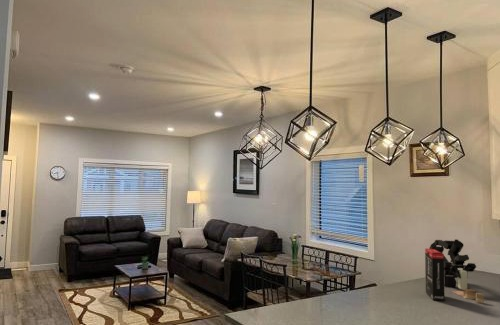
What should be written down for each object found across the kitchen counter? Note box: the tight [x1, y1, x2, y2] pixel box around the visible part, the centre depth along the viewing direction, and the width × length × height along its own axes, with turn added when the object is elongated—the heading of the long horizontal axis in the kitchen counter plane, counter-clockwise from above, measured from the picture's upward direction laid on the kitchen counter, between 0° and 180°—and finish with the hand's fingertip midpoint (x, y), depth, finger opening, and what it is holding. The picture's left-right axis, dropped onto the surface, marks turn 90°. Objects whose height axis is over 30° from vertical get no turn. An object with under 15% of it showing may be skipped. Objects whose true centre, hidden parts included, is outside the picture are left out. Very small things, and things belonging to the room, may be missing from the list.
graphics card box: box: [424, 248, 446, 302], centre depth 218 cm, size 17×7×27 cm, turn 168°
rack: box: [461, 288, 485, 304], centre depth 215 cm, size 13×8×5 cm, turn 176°
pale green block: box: [457, 269, 468, 291], centre depth 229 cm, size 4×4×11 cm
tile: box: [451, 290, 464, 296], centre depth 228 cm, size 9×9×1 cm
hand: (463, 278), depth 227 cm, fingers closed on pale green block, 3 cm apart
